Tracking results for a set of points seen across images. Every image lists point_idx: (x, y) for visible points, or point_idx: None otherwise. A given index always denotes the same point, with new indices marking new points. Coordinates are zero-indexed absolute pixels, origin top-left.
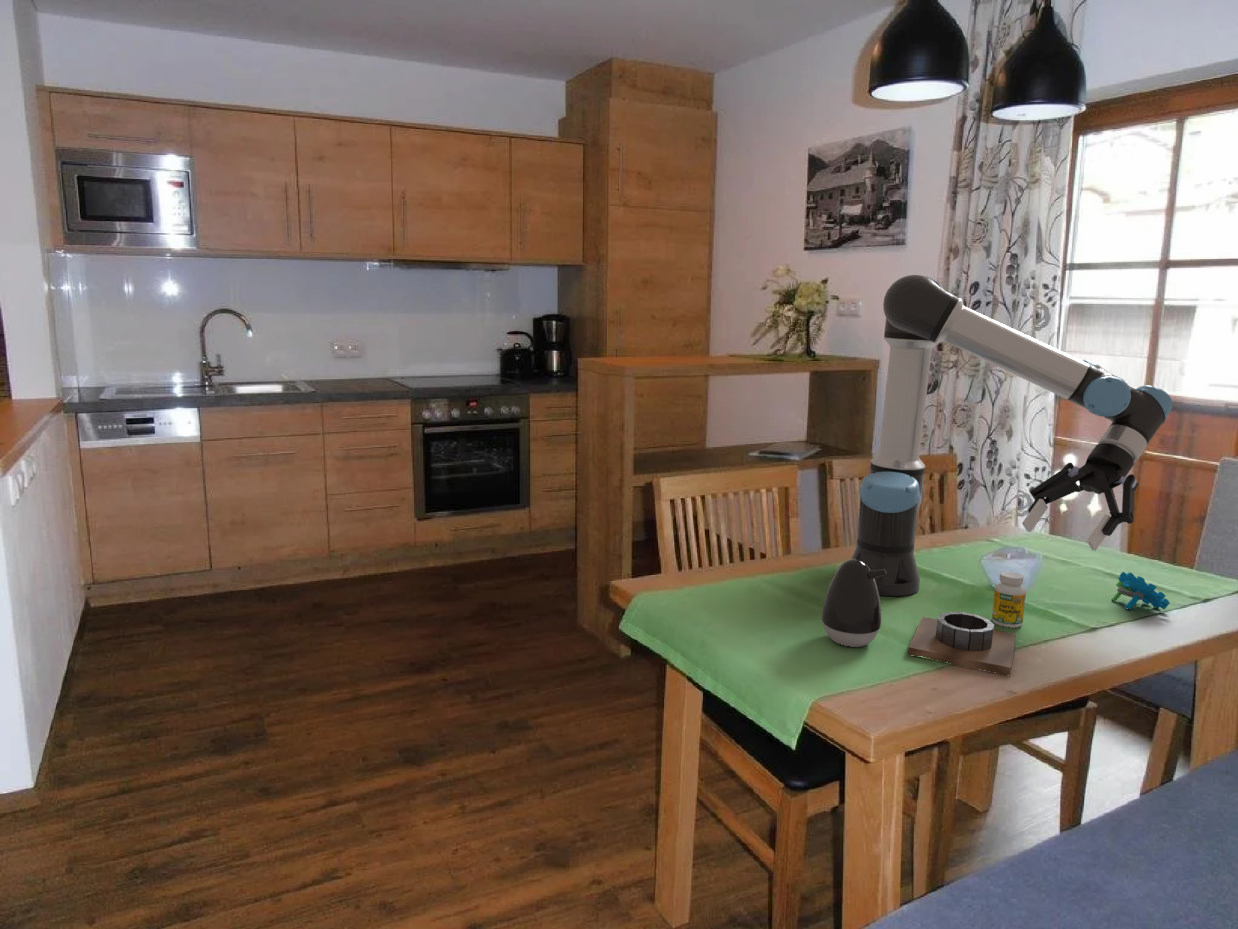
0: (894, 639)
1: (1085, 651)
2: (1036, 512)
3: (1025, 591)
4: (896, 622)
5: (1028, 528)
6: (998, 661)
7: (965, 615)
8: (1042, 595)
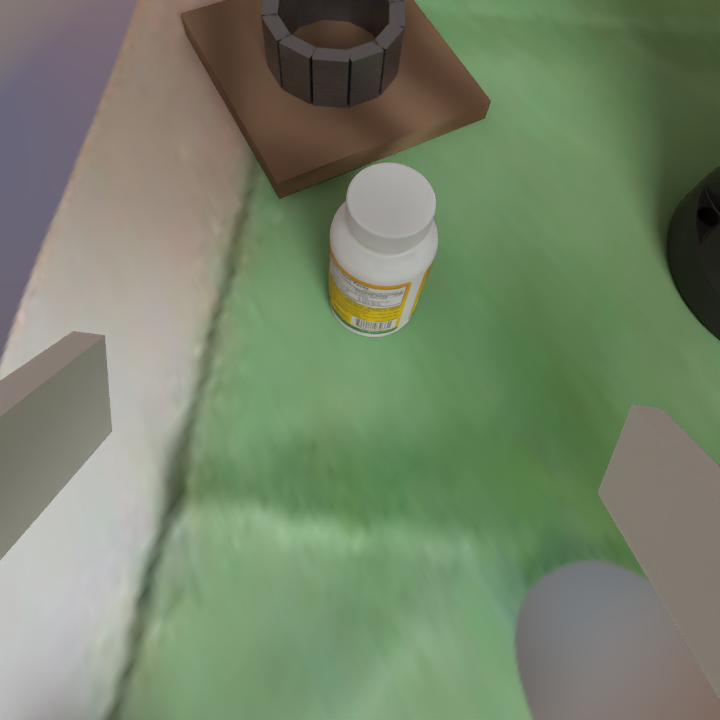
0: (450, 14)
1: (121, 288)
2: (705, 533)
3: (333, 246)
4: (523, 85)
5: (613, 458)
6: (215, 20)
7: (365, 45)
8: (474, 692)
